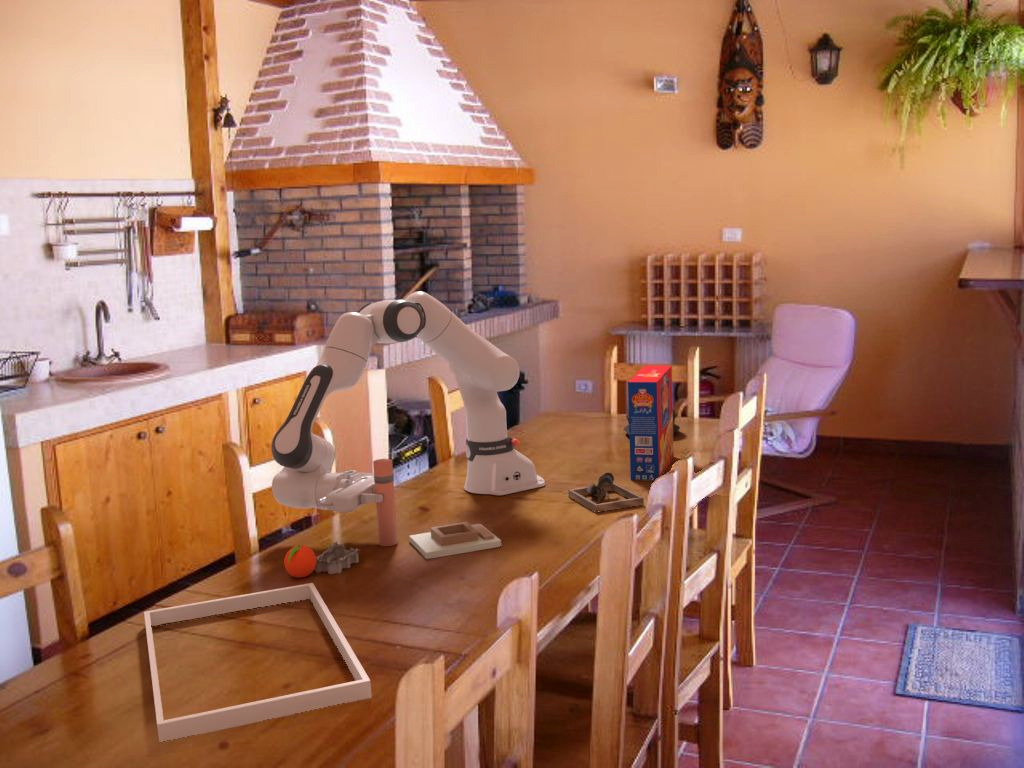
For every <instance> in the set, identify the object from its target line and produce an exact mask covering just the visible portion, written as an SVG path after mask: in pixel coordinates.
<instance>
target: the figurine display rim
mask: <svg viewBox="0 0 1024 768" xmlns="http://www.w3.org/2000/svg"><path fill="white" fill-rule="evenodd" d="M587 487H588V486H584V487H578V488H577V487H576V488H573V489H568V492H567V493H568V498H569V497H570V498H569V499H571V498H572V499H571V500H573V499H574V500H575V501H574V500H573V501H574V502H576V501H577V502H576V503H578V502H579V503H580V505H581V504H582V506H583V505H584V506H583V507H585V506H586V507H587V508H586V507H585V508H586V509H588V508H589V509H588V510H590V509H591V510H593V511H595V512H598V511H605V510H612V511H614V510H613V509H618V508H624V509H627V508H626V507H630V508H633V507H632V506H636V507H640V506H639V505H642V506H644V503H645V502H644V500H645V499H644V497H642V495H638V494H637V493H635V492H633V491H631V490H629V489H627V488H626V487H623V486H621V484H617V483H615V482H613V484H611V485H609V486H608V487H606V488H605V490H607V489H608V488H609V487H611V489H610V490H609V491H611V492H614V491H615V492H614V493H616V492H617V493H616V494H618V493H619V494H618V495H620V494H621V495H620V496H622V495H623V496H625V497H627V498H628V499H627V498H625V497H624V498H625V499H621V500H616V501H608V502H602V503H597V502H594V501H593V500H590V499H588V498H587V497H585V496H589V495H588V494H591V493H590V492H587ZM582 495H585V496H582ZM591 495H592V494H591ZM623 496H622V497H623ZM579 503H578V504H579ZM591 510H590V511H591ZM618 510H619V509H618ZM593 511H592V512H593ZM595 512H594V513H595ZM605 512H606V511H605Z"/></svg>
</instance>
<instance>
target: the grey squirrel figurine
mask: <svg viewBox="0 0 1024 768" xmlns="http://www.w3.org/2000/svg"><path fill="white" fill-rule="evenodd" d="M614 481H615V477H614V475H613V473H612V472H605V473H604V474H602V475H601V476H600V477H598V481H597V485H596V483H593V482H592V483H590V485H588V486H586V487H587V492H590V493H591V495H593V496H596V497H597V503H598V502H599V503H600V501H601V500H602V499H603V497H605V498H608V499H609V498H610V494H609V492H608V491H609V490H610V489H611V487H609V488H608V489H607V490H605V488H606V487H608V486H609V485H611V484H613V483H614ZM610 499H611V498H610Z"/></svg>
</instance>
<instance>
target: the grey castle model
mask: <svg viewBox="0 0 1024 768" xmlns="http://www.w3.org/2000/svg"><path fill="white" fill-rule="evenodd" d="M358 551H361V549H360V548H359V549H358V548H357V547H356V548H355V549H354V548H353V547H350V548H349V550H347V548H346V546H345V545H344V544H340V543H338V541H335V542H332V543H331V544H330V545H329V546H328V547H327V550H324V551H323V552H322V553H321V554H320V555H317V556H316V560H317V561H316V566H315V569H314V570H315V573H318V572H319V573H322V572H321V571H323V572H327V571H328V572H327V574H328V575H333V574H340V573H341V572H342V571H343V569H349V568H351V564H357V563H359V561H360V560H359V552H358Z"/></svg>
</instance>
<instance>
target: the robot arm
mask: <svg viewBox="0 0 1024 768" xmlns="http://www.w3.org/2000/svg"><path fill="white" fill-rule="evenodd" d="M415 337H417V338H418V339H419V340H420V341H421V342H422V343H424V344H425V345H426V346H427V347H428V348H429V349H430V350H431V351H432V352H434V353H435V355H437V356H438V357H439V358H440V359H442V361H445V362H446V363H449V364H448V369H449V373H450V375H451V377H452V378H453V379H454V381H455V382H456V385H457V386H458V390H459V393H460V396H461V400H462V403H463V404H462V405H463V407H464V411H465V412H464V413H465V423H466V437H467V438H465V456H466V459H467V468H466V469H467V470H466V478H465V483H464V487H463V488H464V489H463V490H465V491H466V492H469V493H471V494H476V495H477V494H478V495H480V494H481V495H493V496H504V495H505V496H506V495H509V494H513V493H519V492H523V491H528V490H533V489H537V488H541V487H544V486H545V485H546V481H545V479H544V478H543V477H541V476H540V475H538V474H537V470H536V467H535V464H534V462H533V461H532V460H531V459H529V458H528V457H527V456H525V455H524V454H522V453H521V452H520V451H518V450H516V449H515V448H514V447H516V448H517V447H519V445H520V444H521V441H520V440H519V439H517V438H513V437H511V436H508V429H507V427H508V426H507V410H506V408H505V405H504V404H503V403H502V402H501V399H500V397H499V395H498V392H505V391H509V390H511V389H512V388H514V387H515V385H516V384H517V383H518V380H519V378H520V367H519V363H518V361H517V360H516V359H515V358H513V357H512V356H510V355H509V354H507V353H506V352H504V351H502V350H501V349H499V348H498V347H497V346H495V345H494V344H493V343H491V342H490V341H489V340H488V339H486V338H485V337H483V336H481V334H478V333H477V332H475V331H474V330H473V329H472V328H470V327H469V326H468V325H467V324H466V323H465V322H463V320H461V319H460V318H459V317H458V315H456V314H455V313H454V312H453V311H451V309H449V308H448V307H447V306H446V305H445V304H444V303H442V302H441V301H440V300H438V299H436V298H435V297H434V296H432V295H430V294H429V293H427V292H425V291H420V290H418V291H414V292H412V293H410V294H409V295H407V296H406V297H405V298H404V299H383V300H380V301H376V302H373V301H372V302H369V303H367V304H364V305H363V306H362V307H360V308H359V309H358V310H357V312H356V311H348V312H345V313H343V314H341V315H340V316H339V318H338V319H337V321H336V323H334V325H333V328H332V330H331V332H330V334H329V336H328V338H327V341H326V344H325V346H324V349H323V350H322V351H323V352H322V354H321V357H320V358H319V360H318V362H317V364H316V365H315V366H314V367H313V368H312V369H311V370H310V371H309V373H308V375H307V377H306V378H305V380H304V382H303V384H302V386H301V388H300V390H299V392H298V395H297V396H296V399H295V401H294V402H293V404H292V408H291V409H290V411H289V414H288V415H287V417H286V419H285V421H284V422H283V423H282V425H281V426H280V427H279V428H278V430H277V431H276V433H275V434H274V436H273V438H272V440H271V448H270V449H271V455H272V457H273V459H274V461H275V463H277V464H278V465H280V466H282V467H283V468H282V469H281V470H280V471H279V472H278V473H276V474H275V475H274V476H273V478H272V481H271V492H272V494H273V495H272V496H273V497H274V499H275V500H276V501H277V502H278V503H279V504H280V505H282V506H284V507H289V508H294V509H305V510H308V509H309V510H310V509H312V508H314V509H315V508H316V509H318V510H323V511H324V510H325V511H331V512H339V513H352V512H354V511H356V510H357V509H358V508H360V507H362V506H364V505H366V504H371V503H373V504H374V503H376V502H382V501H383V500H384V494H383V493H376V494H375V482H374V472H373V473H372V472H358V471H357V470H355V469H354V470H353V469H350V470H346V471H342V472H332V470H333V466H334V461H335V454H336V453H335V449H334V447H333V445H332V444H331V442H329V441H328V440H327V439H325V438H323V437H322V436H320V435H317V434H315V433H313V426H314V424H315V421H316V420H317V417H318V415H319V413H320V411H321V409H322V406H323V404H324V402H325V400H326V399H327V397H328V396H329V395H331V394H333V393H335V392H339V391H340V392H342V391H347V390H350V389H351V388H353V387H355V386H356V385H358V383H359V381H361V378H362V376H363V374H364V372H365V369H366V367H367V364H368V360H369V357H370V354H371V350H372V349H373V347H374V346H375V345H376V344H384V345H385V344H388V345H390V344H394V343H395V344H396V343H405V342H408V341H410V340H412V339H414V338H415ZM395 492H396V488H395V487H394V494H395Z"/></svg>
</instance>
